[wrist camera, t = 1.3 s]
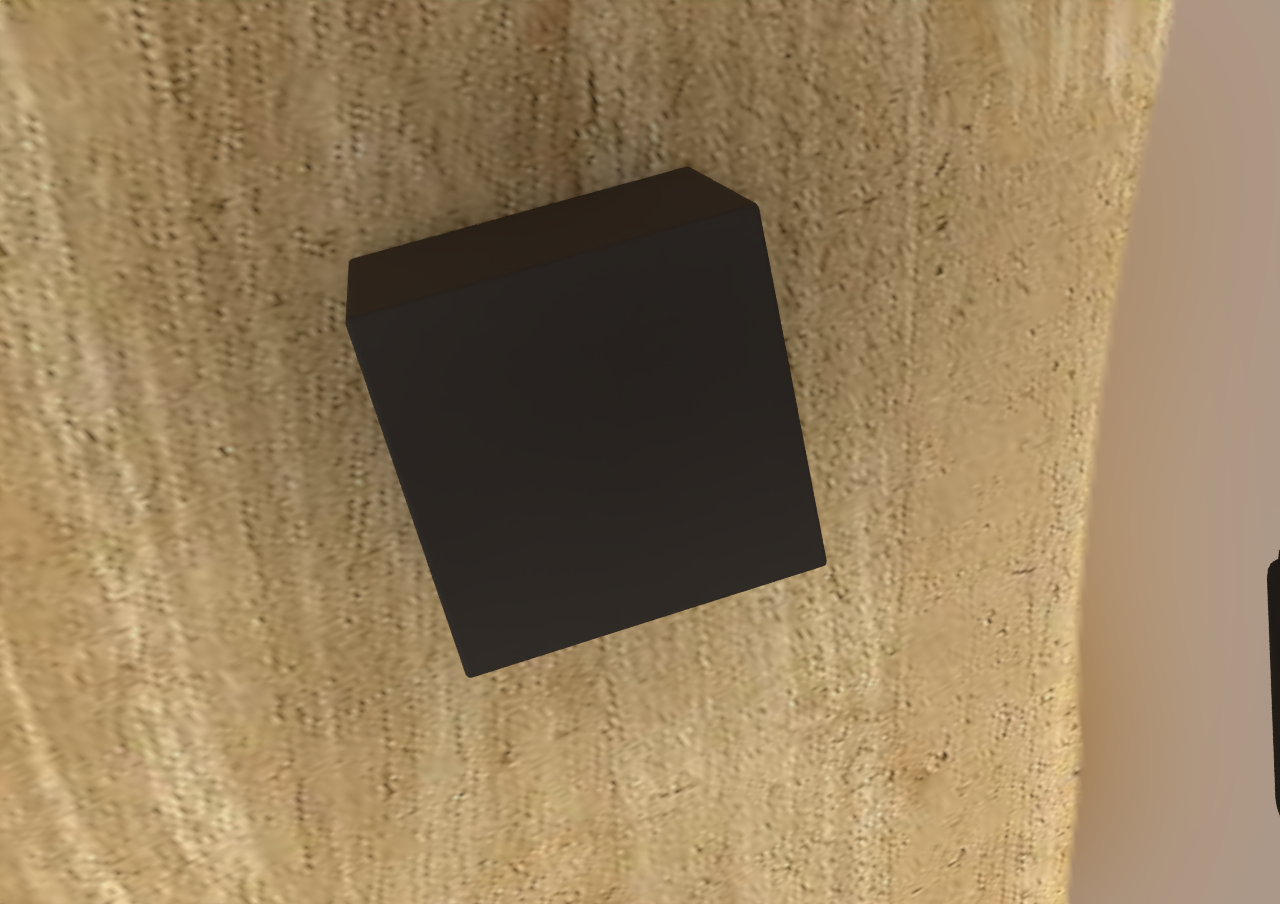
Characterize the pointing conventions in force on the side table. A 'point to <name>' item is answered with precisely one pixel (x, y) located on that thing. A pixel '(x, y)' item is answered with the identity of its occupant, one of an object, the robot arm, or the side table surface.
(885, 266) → the side table surface
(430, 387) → the loose pad
